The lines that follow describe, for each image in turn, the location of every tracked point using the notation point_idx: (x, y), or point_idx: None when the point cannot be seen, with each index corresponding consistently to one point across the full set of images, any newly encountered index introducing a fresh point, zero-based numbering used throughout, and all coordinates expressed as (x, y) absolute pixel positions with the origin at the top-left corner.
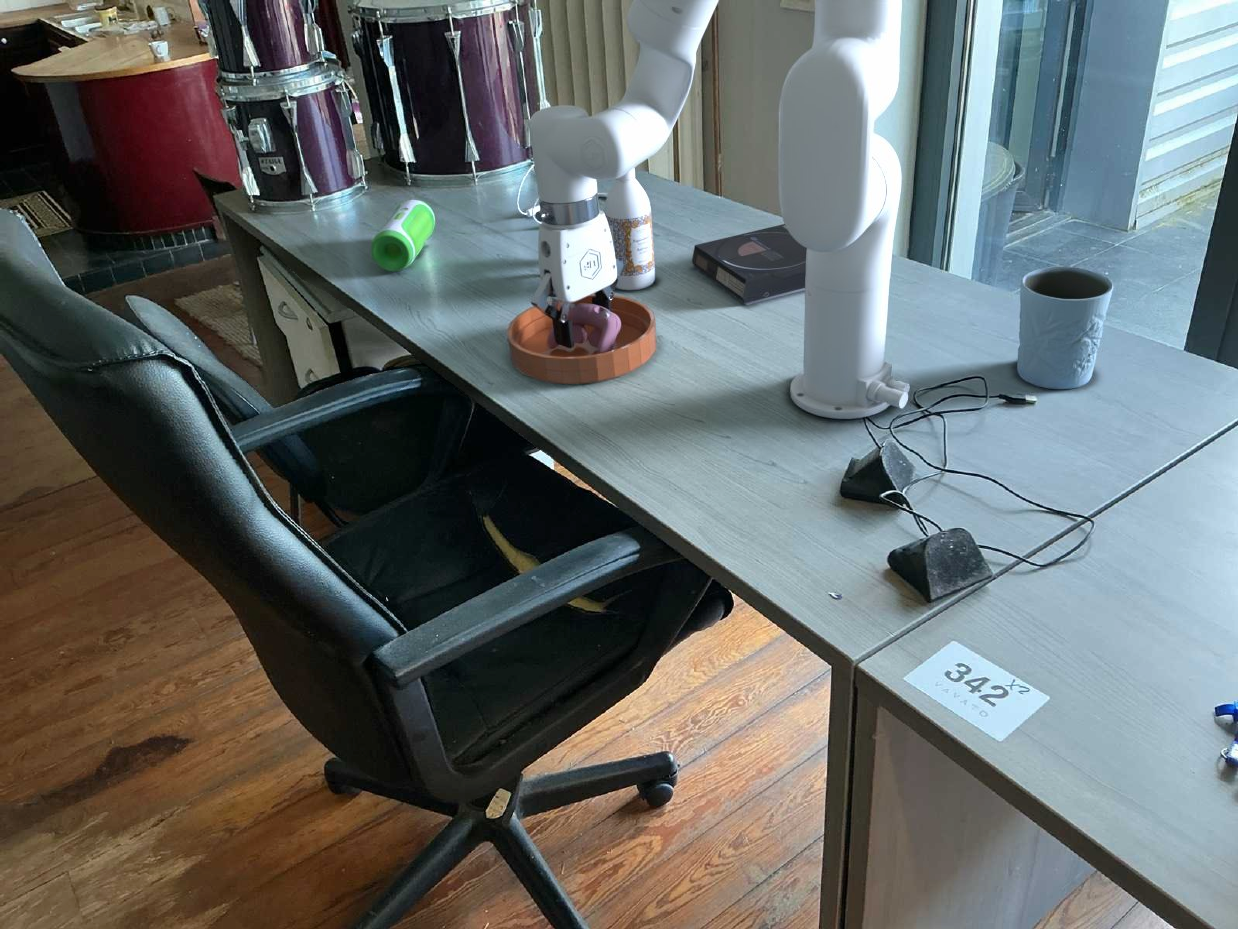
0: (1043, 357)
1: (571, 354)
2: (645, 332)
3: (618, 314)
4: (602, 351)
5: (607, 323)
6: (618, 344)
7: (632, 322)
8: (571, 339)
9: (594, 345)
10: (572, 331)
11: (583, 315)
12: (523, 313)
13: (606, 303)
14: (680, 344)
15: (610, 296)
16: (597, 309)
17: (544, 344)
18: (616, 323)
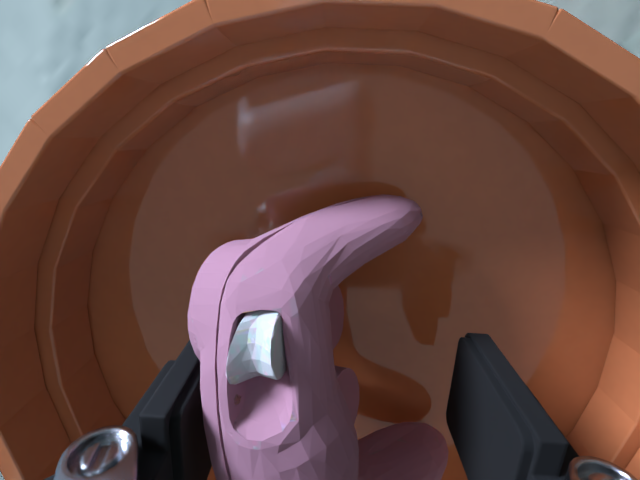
0: None
1: (408, 347)
2: (199, 31)
3: (82, 395)
4: (408, 202)
5: (315, 275)
6: None
7: (77, 319)
8: (496, 356)
9: (340, 301)
10: (493, 385)
11: (352, 444)
12: None
13: (173, 421)
14: (46, 37)
15: (104, 451)
16: (262, 420)
17: None
18: (251, 253)
